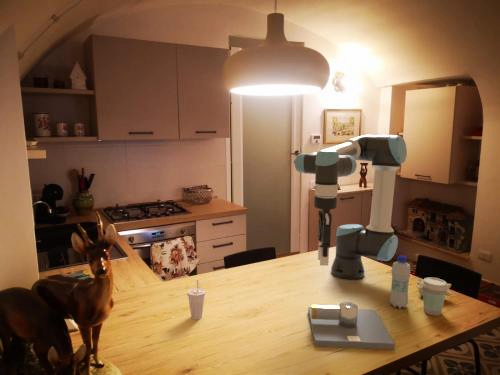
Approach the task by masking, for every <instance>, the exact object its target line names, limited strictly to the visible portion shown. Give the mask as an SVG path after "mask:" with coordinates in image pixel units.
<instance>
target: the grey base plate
mask: <svg viewBox="0 0 500 375" xmlns="http://www.w3.org/2000/svg"><path fill="white" fill-rule="evenodd" d="M307 312H308V317H309V318H308V319H309V322H310V328H311V334H312V337H313V343H314V347H323V348H324V347H325V348H327V347H328V348H346V349H347V348H348V349H349V348H350V349H351V348H352V349H367V350H368V349H369V350H371V349H373V350H389V351H391V350H392V351H394V350H395V347H396V346H395V345H396V343H395V342H394V340H393V338H392V336H391V334H390V333H389V331H388V330H387V327H386V326H385V324H384V323H383V321H382V319H381V317H380V316H379V314H378V312H377V310H376V309H371V308H370V309H368V308H358V315H357V326H356V327H353V328H347V327H343V326H341V325H340V324H339V320H325V319H312V318H311V306H309V307H308V310H307Z"/></svg>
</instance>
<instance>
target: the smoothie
mask: <svg viewBox="0 0 500 375" xmlns="http://www.w3.org/2000/svg"><path fill="white" fill-rule="evenodd" d="M199 285H200V284H199V279H196V287H193V288H190V289H188V290H187V294H186V295H187V297H188V303H189V310H190V317H191V318H190V319H192V320H193V321H198V320H201V319H202V318H203V311H204V304H205V296H206V290H205V289H204V288H201V287H199Z"/></svg>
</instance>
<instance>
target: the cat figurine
mask: <svg viewBox="0 0 500 375" xmlns="http://www.w3.org/2000/svg"><path fill="white" fill-rule="evenodd" d="M423 280H424V279H421V278H418V280H417V283H416V284H417V286H416V288H417V290H418V293H419V294H420V296H421V297H422V298H423V286H422V282H423ZM447 286H448V287H447V288H448V289H447V290H446V295H445V296H446V297H450V296H452V292H451V290H449V289H450V288H451V286H452V284H451V283H447Z"/></svg>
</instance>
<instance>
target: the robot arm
mask: <svg viewBox="0 0 500 375" xmlns="http://www.w3.org/2000/svg"><path fill="white" fill-rule="evenodd" d="M407 150H408V149H407V144H406V141H405V139H404V138H403V137H402V136H401V135H396V134H364V135H359V136H355V137H351V138H350V139H346V140H344V141H343V142H342V143H341V144H337V145H334V146H330V147H328V148H324V149H321V150H318V151H314V152H310V153H308V152H305V153H299V154H297V156H296V157H295V160H294V167H295V169H296V171H297V172H299V173H302V174H309V175H315V176H314V177H315V179H314V186H312V189H313V190H314V195H315V196H314V198H313V199H314V200H313V201H314V202H313V206H314V208H315V209H319V210H318V213H317V214H318V227H317V228H318V229H317V230H318V233H317V238H318V250H317V252H318V253H317V260H318V261H319V266H323V267H324V266H327V267H328V266H329V256H330V248H331V239H332V238H331V236H332V235H331V234H332V231H331V230H332V222H333V220H332V217H333V216H332V213H331V212H330V211H331V210H335V209H337V205H338V198H337V196H338V187H339V186H338V185H339V184H338V183H339V182H338V181H339V180H338V179H339V178H341V177H348V176H350V175H353V174H354V173H355V171H356V170H357V161H365V162H371V167H372V168H373V169H374V174H373V184H372V195H371V196H372V198H371V208H370V217H369V219H370V220H369V224H368V225H366V227H365V229H364V226H363V225H362V224H357V223H349V224H342V225H340V226H338V227H337V229H336V235H335V237H336V238H335V257H334V259H333V262H332V265H331V268H330V273H331V274H332V275H333V276H334V277H337V278H340V279H343V280H359V279H363V278H364V276H365V267H364V264H363V260H362V257H366V258H370V259H375V260H377V261H384V262H388V261H390V260H392V258H393V257H394V256H395V253H396V251H397V248H398V245H399V238H398V236H397V235H395V234H394V232H395V230H394V229H393V227H392V225H391V224H392V223H391V222H392V214H393V204H394V192H395V183H396V174H397V173H396V172H397V171H398V170H399V169H400V168H401V164H404V163H405V162H406V158H407V155H408V151H407Z"/></svg>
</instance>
